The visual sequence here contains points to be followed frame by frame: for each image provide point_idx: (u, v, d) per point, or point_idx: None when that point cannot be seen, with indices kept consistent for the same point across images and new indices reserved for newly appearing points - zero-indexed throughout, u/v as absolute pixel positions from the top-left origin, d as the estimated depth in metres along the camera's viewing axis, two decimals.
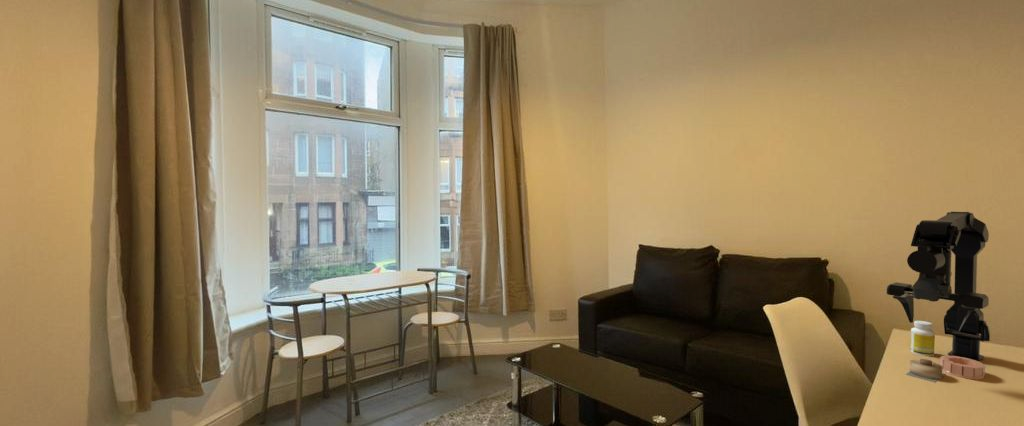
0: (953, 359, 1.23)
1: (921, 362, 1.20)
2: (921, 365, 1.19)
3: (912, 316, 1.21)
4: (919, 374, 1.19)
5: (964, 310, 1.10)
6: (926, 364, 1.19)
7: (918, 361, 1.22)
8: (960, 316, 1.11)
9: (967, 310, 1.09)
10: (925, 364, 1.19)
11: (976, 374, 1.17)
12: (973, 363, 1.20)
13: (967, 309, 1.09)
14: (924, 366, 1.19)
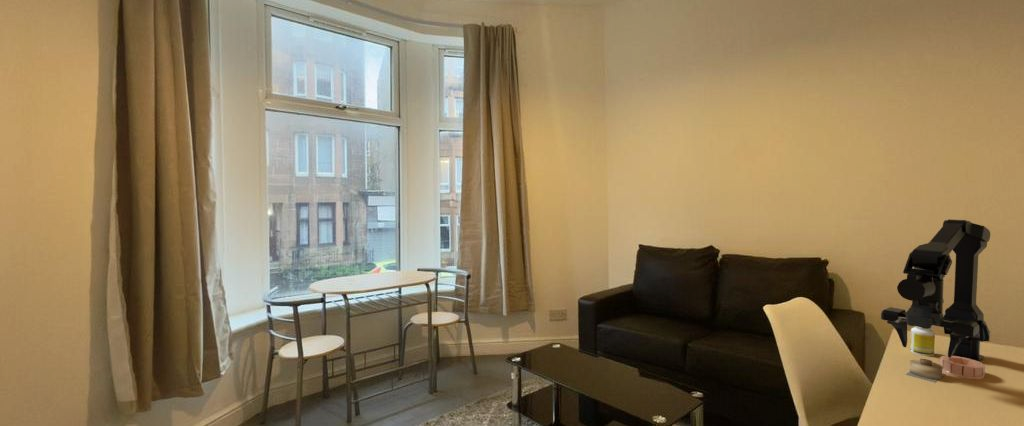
0: (953, 359, 1.23)
1: (921, 362, 1.20)
2: (921, 365, 1.19)
3: (906, 341, 1.24)
4: (919, 374, 1.19)
5: (955, 337, 1.13)
6: (926, 364, 1.19)
7: (918, 361, 1.22)
8: (952, 343, 1.15)
9: (958, 337, 1.13)
10: (925, 364, 1.19)
11: (976, 374, 1.17)
12: (973, 363, 1.20)
13: (958, 336, 1.12)
14: (924, 366, 1.19)
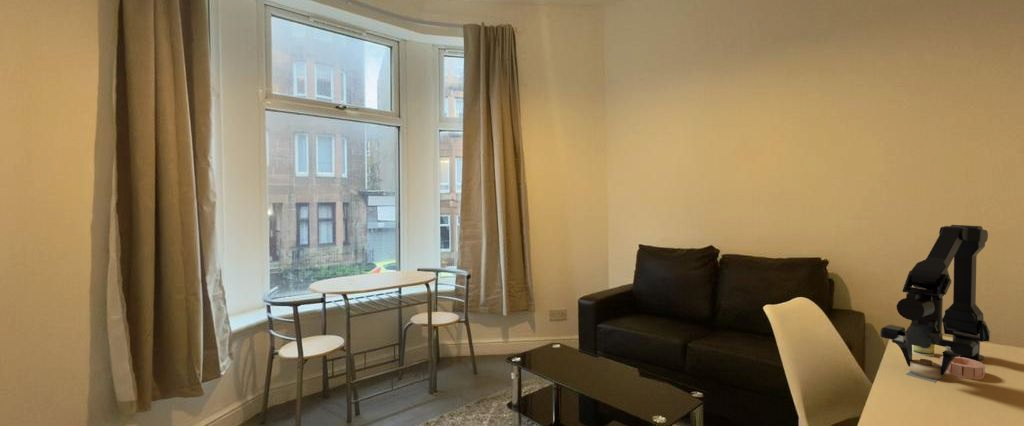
0: (953, 359, 1.23)
1: (921, 362, 1.20)
2: (921, 365, 1.19)
3: None
4: (919, 374, 1.19)
5: (948, 355, 1.14)
6: (926, 364, 1.19)
7: (918, 361, 1.22)
8: (944, 361, 1.16)
9: (951, 356, 1.14)
10: (925, 364, 1.19)
11: (976, 374, 1.17)
12: (973, 363, 1.20)
13: (951, 355, 1.14)
14: (924, 366, 1.19)
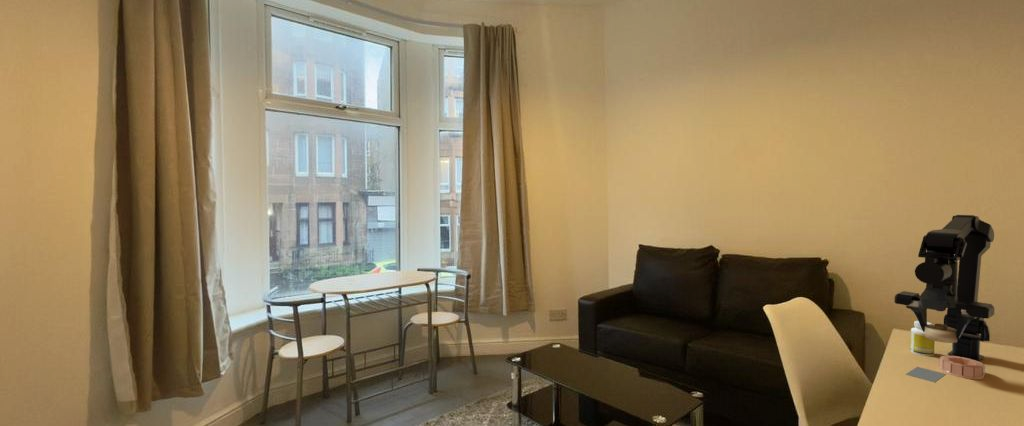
0: (953, 359, 1.23)
1: (936, 327, 1.20)
2: (936, 329, 1.19)
3: (925, 325, 1.23)
4: (934, 338, 1.19)
5: (964, 318, 1.14)
6: (941, 328, 1.19)
7: (933, 326, 1.22)
8: (960, 324, 1.16)
9: (966, 318, 1.14)
10: (940, 328, 1.19)
11: (976, 374, 1.17)
12: (973, 363, 1.20)
13: (966, 317, 1.13)
14: (939, 330, 1.19)
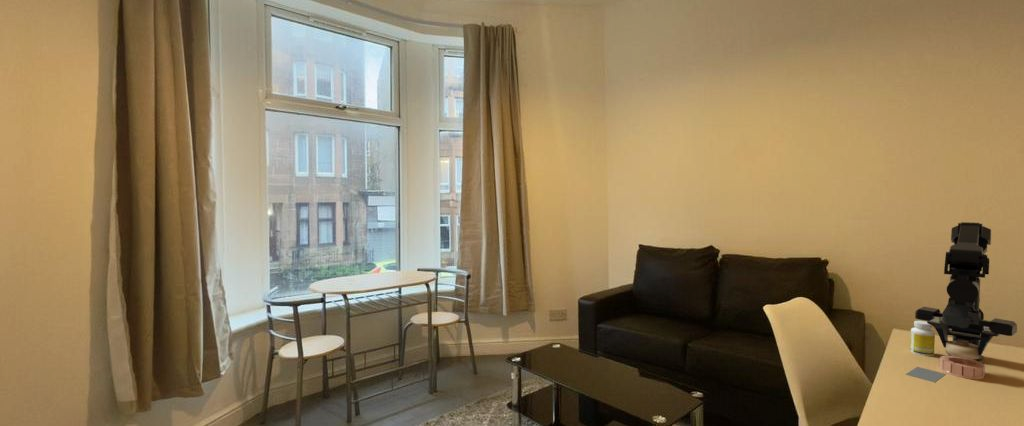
0: (953, 359, 1.23)
1: (958, 343, 1.20)
2: (958, 346, 1.20)
3: (946, 341, 1.23)
4: (956, 355, 1.19)
5: (986, 335, 1.15)
6: (963, 345, 1.19)
7: (954, 342, 1.22)
8: (982, 341, 1.16)
9: (989, 335, 1.14)
10: (962, 345, 1.20)
11: (976, 374, 1.17)
12: (973, 363, 1.20)
13: (989, 334, 1.14)
14: (961, 346, 1.19)
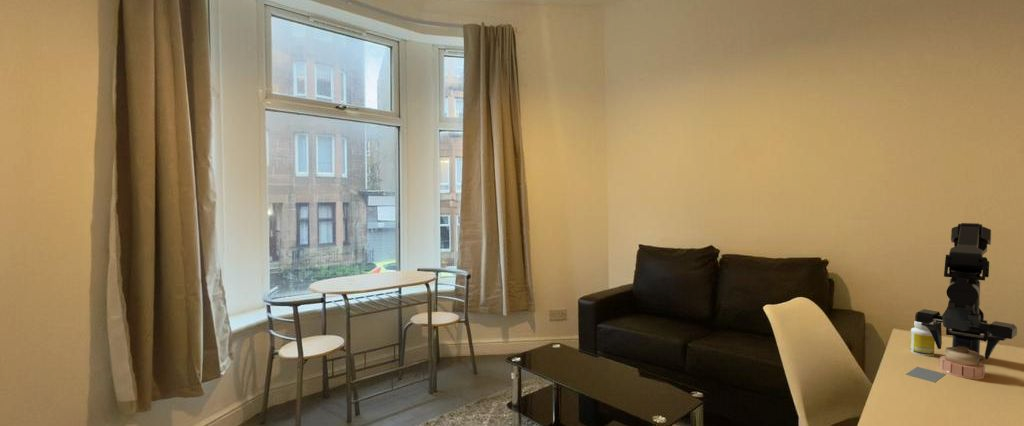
0: None
1: (957, 349, 1.21)
2: (958, 352, 1.20)
3: (940, 343, 1.24)
4: (956, 361, 1.19)
5: (993, 339, 1.14)
6: (963, 351, 1.19)
7: (954, 348, 1.22)
8: (989, 345, 1.15)
9: (996, 339, 1.13)
10: (962, 351, 1.20)
11: (976, 374, 1.17)
12: None
13: (996, 339, 1.13)
14: (961, 353, 1.19)
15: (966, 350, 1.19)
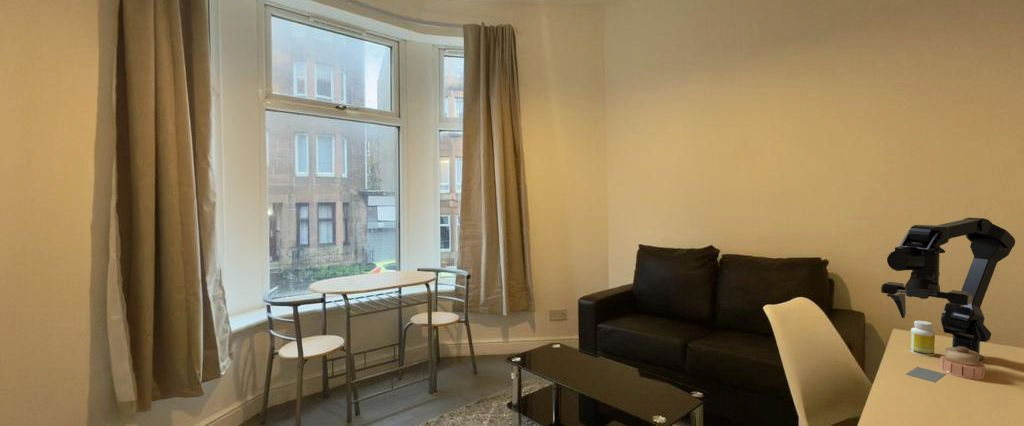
0: None
1: (957, 349, 1.21)
2: (958, 352, 1.20)
3: (904, 312, 1.32)
4: (956, 361, 1.19)
5: (951, 306, 1.22)
6: (963, 351, 1.19)
7: (954, 348, 1.22)
8: (947, 312, 1.23)
9: (954, 306, 1.21)
10: (962, 351, 1.20)
11: (976, 374, 1.17)
12: None
13: (954, 305, 1.21)
14: (961, 353, 1.19)
15: (966, 350, 1.19)
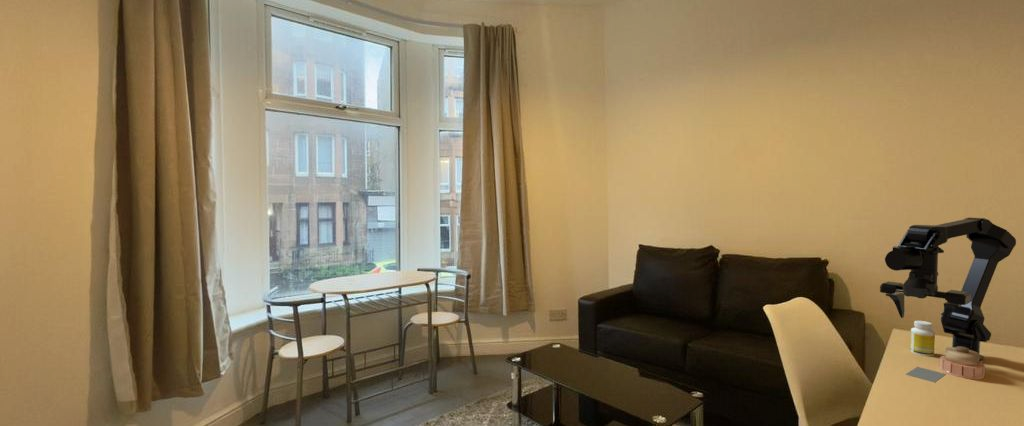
0: None
1: (957, 349, 1.21)
2: (958, 352, 1.20)
3: (903, 312, 1.33)
4: (956, 361, 1.19)
5: (949, 306, 1.22)
6: (963, 351, 1.19)
7: (954, 348, 1.22)
8: (945, 312, 1.23)
9: (951, 306, 1.21)
10: (962, 351, 1.20)
11: (976, 374, 1.17)
12: None
13: (951, 305, 1.21)
14: (961, 353, 1.19)
15: (966, 350, 1.19)
